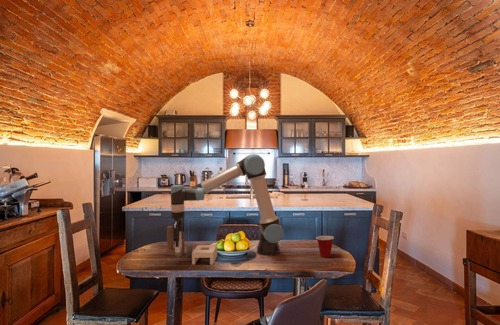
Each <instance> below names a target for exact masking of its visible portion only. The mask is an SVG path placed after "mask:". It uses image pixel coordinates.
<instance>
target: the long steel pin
mask: <svg viewBox="0 0 500 325" xmlns="http://www.w3.org/2000/svg"><path fill="white" fill-rule="evenodd" d="M179 241H180V252H176V257H181V256H182V242H181V231H180V232H179ZM182 257H183V256H182Z"/></svg>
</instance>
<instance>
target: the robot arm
mask: <svg viewBox="0 0 500 325" xmlns="http://www.w3.org/2000/svg"><path fill="white" fill-rule="evenodd" d="M265 164H266V163H265V160H264V158H262V156H260V155H258V154H254V153H253V154H249V155H246V156H245V157H244V158H242V159H240V161H237V162H236V163H235V165H232V166H231V167H229V168H226V169H225V170H223V171H221V172H219V173H218V174H215V175H213V176H211V177H209V178H208V179H206V180H204V181H201V182H199V183H198V184H195V185H193V186H192V187H185V186H184V184H173V185H171V186H170V209H171V213H170V214H171V219H172V220H173V224H172V226H173V242H174V241H175V244H174V248H175V252H180V241H179V232H180V231H181V242H182V239H183V233H184V227H183V226H184V218H185V202H187V201H188V202H192V201H193V202H194V201H197V202H200V201H204V200H205V194H208V193H210V192H212V191H213V190H216V189H217V188H219V187H221V186H223V185H226V184H228V183H230V182H231V181H234V180H236V179H238V178H239V177H244V176H246V177H247V180H249V181H250V184H251V186H252V190H253V194H254V197H255V200H256V205H257V208H258V212H259V214H260V218H259V220H258V221H259V222H258V223H259V224H258V225H259V232H258V233H259V236H258V238H259V241H258V243H257V244H258V245H257V247H256V253H257V254H258V255H261V256H276V255H279V254H280V253H281V248H280V244H279V242H280V241H281V240H282V238H283V237H284V228H283V227H282V225H281V221H280V219H279V216H277V215H276V214H275V210H274V207H273V203H272V200H271V195H270V192H269V188H268V185H267V180H266V175H267V172H266V168H265V167H266V166H265ZM182 219H183V220H182Z"/></svg>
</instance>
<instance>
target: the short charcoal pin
mask: <svg viewBox="0 0 500 325" xmlns="http://www.w3.org/2000/svg"><path fill="white" fill-rule="evenodd" d="M193 246H194V245H193V244H187V245H186V257H187V258H192V252H193V251H194V248H193Z"/></svg>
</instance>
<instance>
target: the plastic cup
mask: <svg viewBox="0 0 500 325" xmlns="http://www.w3.org/2000/svg"><path fill="white" fill-rule="evenodd" d="M315 238H316V241H317V244H318V250H319V255H320V257H322V258H330V257H331V253H332V247H333V242H334V238H335V237H334V236H332V235H318V236H317V237H315Z"/></svg>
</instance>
